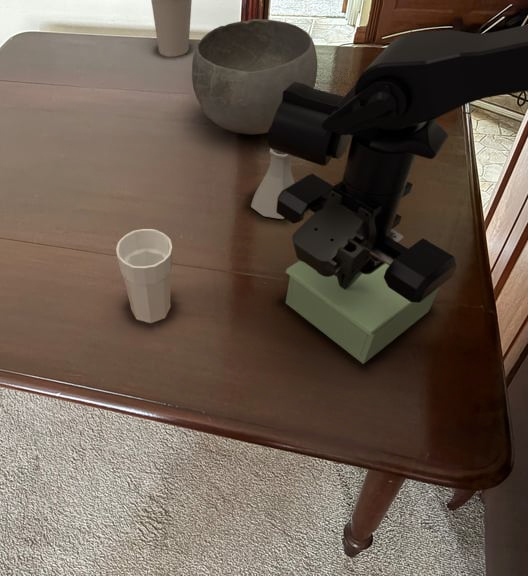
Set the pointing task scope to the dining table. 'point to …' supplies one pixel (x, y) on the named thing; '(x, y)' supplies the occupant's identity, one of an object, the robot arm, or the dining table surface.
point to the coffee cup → (172, 26)
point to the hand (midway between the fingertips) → (344, 286)
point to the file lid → (354, 296)
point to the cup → (146, 272)
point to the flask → (273, 185)
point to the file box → (345, 329)
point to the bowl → (250, 71)
